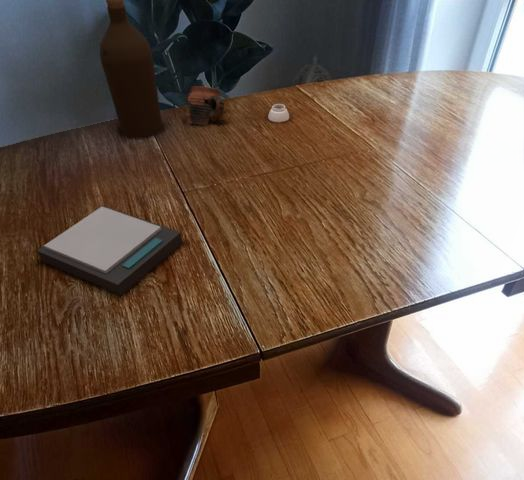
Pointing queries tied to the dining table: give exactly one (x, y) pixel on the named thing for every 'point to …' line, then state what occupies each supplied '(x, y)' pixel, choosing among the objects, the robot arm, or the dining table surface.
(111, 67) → the olive oil
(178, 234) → the kitchen scale
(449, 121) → the dining table surface
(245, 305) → the dining table surface
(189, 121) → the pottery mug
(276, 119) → the lidless jar
